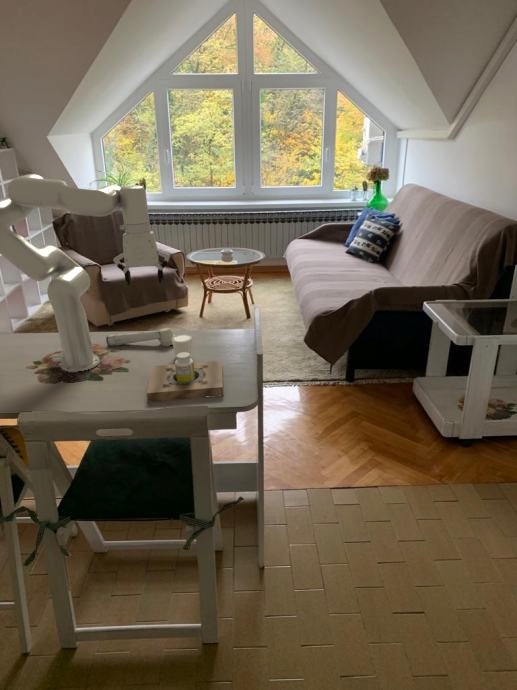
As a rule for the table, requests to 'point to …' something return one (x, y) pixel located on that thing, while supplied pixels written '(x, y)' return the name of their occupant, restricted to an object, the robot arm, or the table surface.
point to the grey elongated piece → (141, 337)
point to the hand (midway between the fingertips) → (145, 282)
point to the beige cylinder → (182, 344)
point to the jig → (168, 388)
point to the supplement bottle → (184, 368)
